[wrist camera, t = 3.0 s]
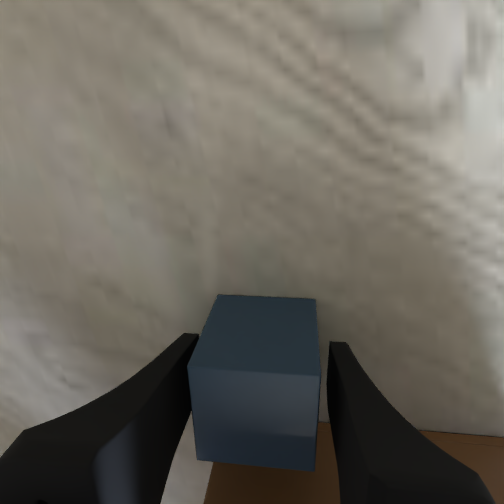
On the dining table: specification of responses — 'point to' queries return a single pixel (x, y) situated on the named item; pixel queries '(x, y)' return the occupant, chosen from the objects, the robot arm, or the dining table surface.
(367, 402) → the robot arm
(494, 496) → the carton
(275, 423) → the block
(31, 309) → the dining table surface
